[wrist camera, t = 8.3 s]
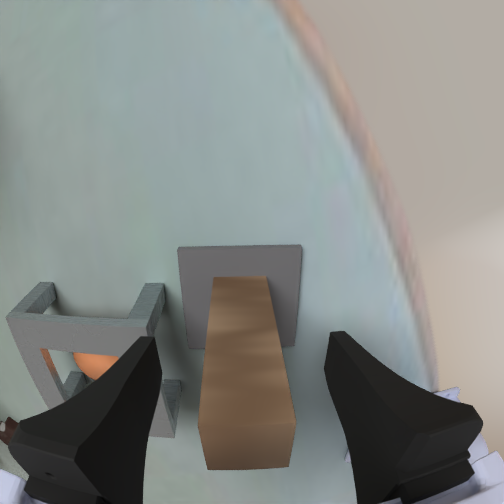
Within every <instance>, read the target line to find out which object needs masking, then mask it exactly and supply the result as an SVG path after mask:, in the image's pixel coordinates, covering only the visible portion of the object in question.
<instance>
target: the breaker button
mask: <svg viewBox="0 0 504 504" xmlns="http://www.w3.org/2000/svg"><path fill="white" fill-rule="evenodd" d="M73 355H74V359H75V361H76V363H77V365H78V367H79V368H80V369H81V370H82V371H83V372H84V373H85V374H86V375H87V376H89V377H90V378H92V379H94V380H97V379H98V378H99V377H100V376H101V375H102V374H104V373H105V372H106V371H107V370H108V369H109V368H110V367H111V366H112V365H113V364H114V363H115V362H116V361H117V360H118V356H108V355H96V354H86V353H76V352H73Z"/></svg>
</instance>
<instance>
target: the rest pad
mask: <svg viewBox="0 0 504 504" xmlns="http://www.w3.org/2000/svg"><path fill="white" fill-rule="evenodd" d="M177 252H178V263H179V273H180V283H181V292H182V300H183V309H184V317H185V325H186V332H187V340H188V347H189V349H205V346H206V337H207V328H208V319H209V310H210V302H211V293H212V285H213V277H236V276H266V278H267V282H268V287H269V292H270V296H271V301H272V306H273V311H274V316H275V320H276V325H277V330H278V335H279V340H280V344H281V347H285V346H294V344H295V333H296V322H297V310H298V297H299V284H300V269H301V254H302V247H301V245H253V246H202V247H178V250H177Z"/></svg>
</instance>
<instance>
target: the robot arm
mask: <svg viewBox="0 0 504 504" xmlns="http://www.w3.org/2000/svg"><path fill="white" fill-rule="evenodd" d="M324 371H325V376H326V380H327V385H328V389H329V392H330V394H331V397H332V400H333V403H334V405H335V408H336V411H337V413H338V416H339V419H340V421H341V424H342V427H343V430H344V433H345V436H346V440H347V445H348V452H347V454H346V456H345V462H351V464H352V469H353V475H354V481H355V488H356V496H357V504H504V461H503V460H502V458H501V456H500V455H499V453H498V451H494V452H492V453H490V454H489V453H488V448H487V445H486V442H485V440H484V438H483V437H482V435H481V433H480V431H481V429H482V426H483V421H482V419H481V418H480V416H479V415H478V413H477V412H476V410H475V409H474V407H473V406H471V405H468V404H464V403H461V402H460V401H459V399H458V398H457V396H458V394H459V392H460V389H459V388H458V387H454V388H451V389H447V390H444V391H440V392H436V393H431V392H429V391H427V390H425V389H422V388H420V387H418V386H416V385H414V384H413V383H411V382H409V381H407V380H406V379H404V378H402V377H401V376H399V375H398V374H396V373H395V372H393V371H392V370H390V369H389V368H388V367H386V366H385V365H383V364H382V363H381V362H380V361H378V360H377V359H376V358H375V357H373V356H372V355H371V354H370V353H369V352H367V351H366V350H365V349H364V348H363V347H362V346H361V345H359V344H358V343H357V342H356V341H355V340H354V339H353V338H352V337H351V336H349V335H348V334H347V333H346V332H345V331H338V332H330V337H329V343H328V349H327V355H326V360H325V366H324ZM161 380H162V369H161V365H160V360H159V356H158V351H157V347H156V342H155V337H152V336H140V337H139V338H138V339H137V340H136V341H135V342H134V343H133V344H132V345H131V346H130V348H129V349H128V350H127V351H126V352H125V353H124V354H123V355H122V356H121V357H120V358H119V359H118V360H117V361H116V362H115V363H114V364H113V365H112V366H111V367H110V368H109V369H108V370H107V371H106V372H105V373H104V374H102V375H101V376H100V377H99V378H98V379H97V380H96V381H94V382H93V383H92V384H91V385H89V386H88V387H87V388H85V389H84V390H83V391H81V392H80V393H78V394H77V395H75V396H73V397H72V398H70V399H68V400H67V401H65V402H64V403H62V404H60V405H58V406H56V407H54V408H52V409H50V410H48V411H46V412H43V413H41V414H38V415H36V416H33V417H30V418H27V419H24V420H21V421H20V422H19V424H18V426H17V428H16V430H15V432H14V434H13V436H12V438H11V440H10V442H9V444H8V449H9V451H10V453H11V455H12V456H13V458H14V459H15V460H16V461H17V462H18V463H19V465H20V466H21V467H22V468H23V469H24V470H25V471H26V472H27V473H28V474H29V478H28V481H26V480H24V479H23V478H21V477H19V476H17V475H15V474H12V473H10V472H7V471H5V470H3V469H0V504H143V481H144V468H145V457H146V449H147V442H148V437H149V432H150V429H151V425H152V421H153V417H154V413H155V410H156V406H157V402H158V398H159V394H160V388H161Z"/></svg>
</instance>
